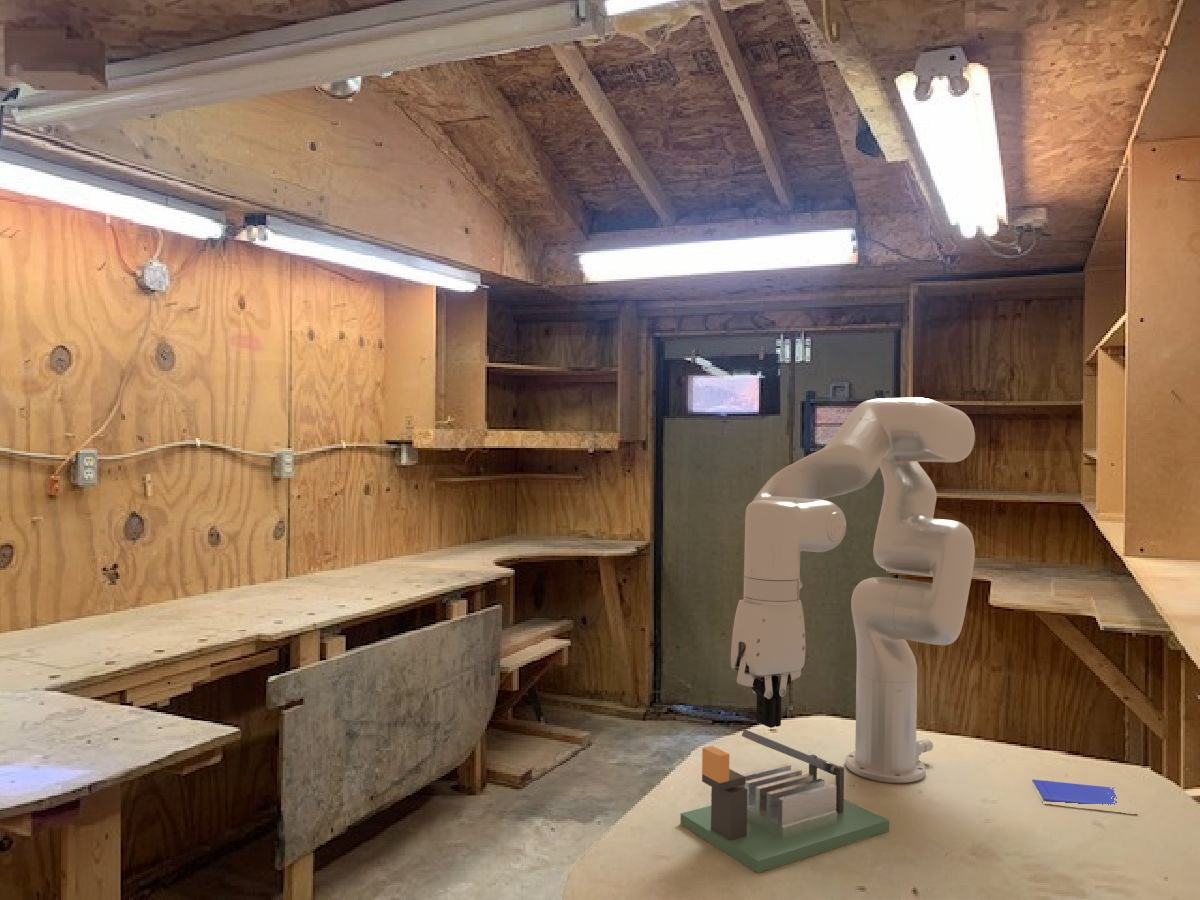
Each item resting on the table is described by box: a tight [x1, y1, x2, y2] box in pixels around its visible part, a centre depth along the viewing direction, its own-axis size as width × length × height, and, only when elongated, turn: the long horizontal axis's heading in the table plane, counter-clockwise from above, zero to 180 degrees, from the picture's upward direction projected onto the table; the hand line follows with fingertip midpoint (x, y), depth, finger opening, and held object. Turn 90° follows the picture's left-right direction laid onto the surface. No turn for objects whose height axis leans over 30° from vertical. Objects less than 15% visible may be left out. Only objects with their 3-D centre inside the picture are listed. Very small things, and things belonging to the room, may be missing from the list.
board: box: [679, 754, 890, 874], centre depth 120 cm, size 24×16×8 cm, turn 121°
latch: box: [701, 745, 745, 791], centre depth 114 cm, size 4×4×4 cm
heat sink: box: [740, 763, 837, 839], centre depth 120 cm, size 10×10×5 cm
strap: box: [741, 728, 838, 776], centre depth 121 cm, size 17×4×1 cm, turn 121°
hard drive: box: [1031, 779, 1117, 805], centre depth 132 cm, size 2×8×12 cm
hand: (768, 724), depth 118 cm, fingers closed
